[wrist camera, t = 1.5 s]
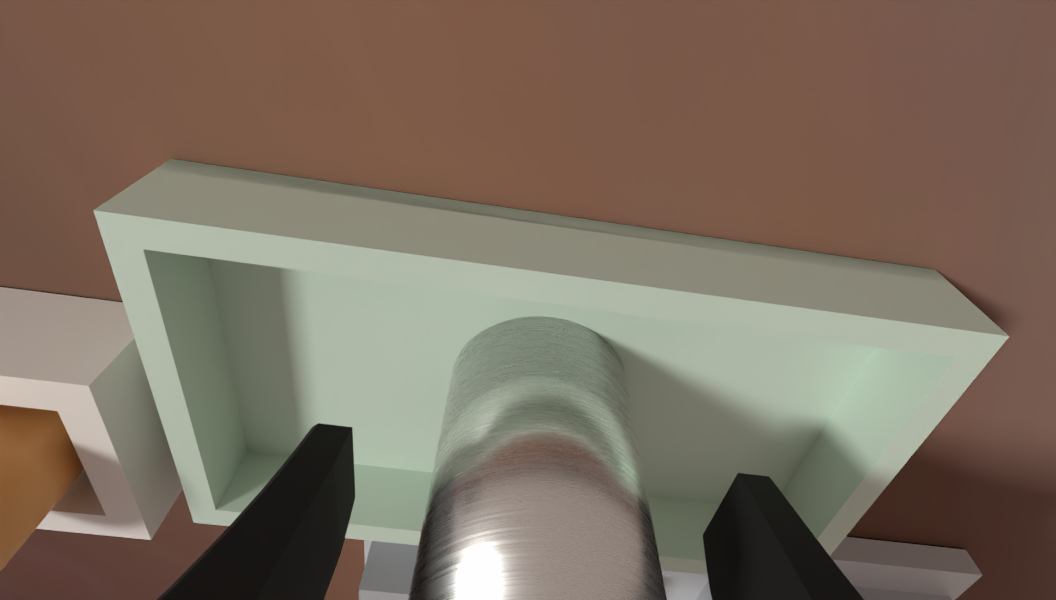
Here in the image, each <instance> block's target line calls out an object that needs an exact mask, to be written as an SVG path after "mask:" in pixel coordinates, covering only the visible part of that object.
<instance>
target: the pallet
mask: <svg viewBox="0 0 1056 600" xmlns="http://www.w3.org/2000/svg"><path fill="white" fill-rule="evenodd" d="M417 551H418V545H409V544H399V543H389V542H379V541H370V540H364V552H365V568H364V572H363V576H362V580H361V583H360V587H359V600H408V598H409V593H410V587H411V582H412V577H413V572H414V567H415V562H416V556H417ZM830 557H831V558H832V560H833V561H834V562H835V563H836V565H837V566H838V567H839V569H840V570H841V571H842V572H843V574H844V575H845V576H846V578H847V579H848V580H849V581H850V583H851V584H852V585H853V586H854V588H855V589H856V590H857V591H858V593H859V594H860V595H861V596H862V598H863V599H864V600H955V599H956V598H958V597H959V596H960V595H961V594H962V593H963V592H964V591H966V590H967V589H968V588H969V587H970V586H971V585H972V584H973V583H975V582H976V581H977V580H978V579H979V578H980V577H981V576H983V575H982V573H981V572H980V570H979V569H978V567H977V566H976V564H975V563H974V561H973V560H972V558H971V557H970V555H969V554H968V552H967V551H966V550H963V549H954V548H945V547H936V546H927V545H917V544H908V543H899V542H890V541H881V540H871V539H862V538H853V537H845V538H844V539H843V541H842V542H841V543H840V544H839V545H838V547H837V548H836V549H835V550H834V552H833V553H832V554H831V555H830ZM661 571H662V576H663V582H664V587H665V593H666V598H667V600H712V597H711V593H710V587H709V580H708V575H703V574H693V573H683V572H673V571H663V570H661Z"/></svg>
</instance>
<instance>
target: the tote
mask: <svg viewBox="0 0 1056 600" xmlns="http://www.w3.org/2000/svg"><path fill="white" fill-rule="evenodd" d="M94 214H95V217H96V220H97V223H98V226H99V229H100V232H101V235H102V238H103V242H104V245H105V248H106V251H107V254H108V257H109V260H110V263H111V266H112V270H113V273H114V276H115V279H116V282H117V285H118V288H119V291H120V294H121V298H122V301H123V304H124V307H125V310H126V313H127V316H128V319H129V322H130V326H131V329H132V332H133V335H134V338H135V341H136V344H137V347H138V350H139V354H140V357H141V360H142V363H143V366H144V369H145V372H146V375H147V378H148V382H149V385H150V388H151V391H152V394H153V397H154V400H155V403H156V406H157V410H158V413H159V416H160V419H161V422H162V425H163V428H164V431H165V434H166V438H167V441H168V444H169V447H170V450H171V453H172V456H173V459H174V462H175V466H176V469H177V472H178V475H179V478H180V481H181V484H182V487H183V490H184V494H185V497H186V500H187V503H188V506H189V509H190V512H191V515H192V518H193V522H194V523H203V524H213V525H223V526H230V525H231V524H232V523H233V521H234V520H235V519H236V518H237V517H238V516H239V515H240V514H241V513H242V511H243V510H244V509H245V508H246V507H247V506H248V505H249V504H250V502H251V501H252V500H253V499H254V498H255V497H256V496H257V495H258V493H259V492H260V491H261V490H262V489H263V488H264V487H265V485H266V484H267V483H268V482H269V481H270V479H271V478H272V477H273V476H274V475H275V473H276V472H277V471H278V470H279V469H280V467H281V466H282V465H283V464H284V463H285V461H286V460H287V459H288V458H289V456H290V455H291V454H292V453H293V451H294V450H295V449H296V448H297V446H298V445H299V444H300V442H301V441H302V440H303V439H304V437H305V436H306V435H307V433H308V432H309V431H310V429H311V428H312V427H313V426H314V425H316V424H318V423H321V424H329V425H337V426H346V427H352V431H353V454H354V476H355V501H354V505H353V508H352V512H351V516H350V520H349V524H348V528H347V532H346V535H345V538H350V539H360V540H370V541H379V542H389V543H399V544H409V545H418V546H419V541H420V536H421V530H422V525H423V520H424V515H425V510H426V505H427V499H428V494H429V489H430V484H431V479H432V473H433V468H434V463H435V458H436V453H437V448H438V442H439V437H440V432H441V427H442V422H443V416H444V411H445V406H446V401H447V396H448V391H449V385H450V380H451V375H452V370H453V366H454V363H455V361H456V358H457V357H458V355H459V353H460V351H461V350H462V349H463V348H464V346H465V345H466V344H467V343H468V342H469V341H470V340H471V339H472V338H473V337H475V336H476V335H477V334H479V333H480V332H482V331H483V330H485V329H487V328H489V327H491V326H493V325H495V324H498V323H501V322H504V321H507V320H511V319H515V318H522V317H533V316H544V317H555V318H560V319H565V320H569V321H572V322H575V323H578V324H580V325H583V326H585V327H587V328H589V329H591V330H593V331H594V332H596V333H598V334H599V335H600V336H601V337H603V338H604V339H605V340H606V341H607V342H608V343H609V344H610V345H611V346H612V347H613V348H614V350H615V351H616V352H617V354H618V355H619V357H620V359H621V361H622V363H623V367H624V370H625V375H626V380H627V386H628V391H629V397H630V402H631V407H632V413H633V418H634V424H635V429H636V435H637V440H638V446H639V451H640V457H641V462H642V467H643V473H644V478H645V484H646V489H647V495H648V500H649V506H650V511H651V516H652V522H653V527H654V533H655V538H656V544H657V549H658V555H659V560H660V566H661V570H663V571H673V572H683V573H693V574H703V575H708V574H707V567H706V559H705V551H704V543H703V533H704V532H705V530H706V528H707V526H708V525H709V523H710V521H711V519H712V518H713V516H714V514H715V512H716V511H717V509H718V507H719V505H720V504H721V502H722V500H723V498H724V497H725V495H726V493H727V491H728V490H729V488H730V486H731V484H732V482H733V481H734V479H735V477H736V475H737V474H738V473H744V474H752V475H761V476H769V477H770V478H771V479H772V481H773V482H774V483H775V485H776V486H777V487H778V488H779V490H780V491H781V492H782V494H783V495H784V496H785V498H786V499H787V500H788V502H789V503H790V504H791V506H792V507H793V508H794V510H795V511H796V512H797V514H798V515H799V516H800V518H801V519H802V520H803V522H804V523H805V524H806V526H807V527H808V528H809V529H810V531H811V532H812V533H813V535H814V536H815V537H816V539H817V540H818V541H819V543H820V544H821V545H822V547H823V548H824V549H825V551H826V552H827V553H828V554H829V556H830V555H831V554H832V553H833V552H834V550H835V549H836V548H837V547H838V545H839V544H840V543H841V542H842V541H843V539H844V538H845V537H846V536H847V534H848V533H849V532H850V531H851V530H852V528H853V527H854V526H855V525H856V523H857V522H858V521H859V520H860V519H861V517H862V516H863V515H864V514H865V512H866V511H867V510H868V509H869V508H870V506H871V505H872V504H873V503H874V501H875V500H876V499H877V498H878V497H879V495H880V494H881V493H882V492H883V490H884V489H885V488H886V487H887V486H888V484H889V483H890V482H891V481H892V479H893V478H894V477H895V476H896V475H897V473H898V472H899V471H900V470H901V468H902V467H903V466H904V465H905V463H906V462H907V461H908V460H909V459H910V457H911V456H912V455H913V454H914V452H915V451H916V450H917V449H918V448H919V446H920V445H921V444H922V443H923V441H924V440H925V439H926V438H927V437H928V435H929V434H930V433H931V432H932V430H933V429H934V428H935V427H936V426H937V424H938V423H939V422H940V421H941V419H942V418H943V417H944V416H945V415H946V413H947V412H948V411H949V410H950V408H951V407H952V406H953V405H954V404H955V402H956V401H957V400H958V399H959V397H960V396H961V395H962V394H963V393H964V391H965V390H966V389H967V388H968V386H969V385H970V384H971V383H972V382H973V380H974V379H975V378H976V377H977V375H978V374H979V373H980V372H981V370H982V369H983V368H984V367H985V366H986V364H987V363H988V362H989V361H990V359H991V358H992V357H993V356H994V355H995V353H996V352H997V351H998V350H999V348H1000V347H1001V346H1002V345H1003V344H1004V342H1005V341H1006V340H1007V339H1008V337H1009V336H1008V335H1007V334H1006V333H1005V332H1004V331H1003V330H1002V329H1001V328H999V327H998V326H997V325H996V324H995V323H994V322H993V321H992V320H991V319H989V318H988V317H987V316H986V315H985V314H984V313H983V312H982V311H981V310H980V309H978V308H977V307H976V306H975V305H974V304H973V303H972V302H971V301H970V300H968V299H967V298H966V297H965V296H964V295H963V294H962V293H961V292H960V291H959V290H957V289H956V288H955V287H954V286H953V285H952V284H951V283H950V282H949V281H947V280H946V279H945V278H944V277H943V276H942V275H941V274H940V273H939V272H938V271H936V270H934V269H927V268H920V267H913V266H906V265H899V264H892V263H886V262H879V261H872V260H865V259H858V258H851V257H844V256H837V255H830V254H823V253H817V252H810V251H803V250H796V249H789V248H782V247H775V246H768V245H761V244H755V243H748V242H741V241H734V240H727V239H720V238H713V237H706V236H699V235H693V234H686V233H679V232H672V231H665V230H658V229H651V228H644V227H637V226H631V225H624V224H617V223H610V222H603V221H596V220H589V219H582V218H575V217H568V216H562V215H555V214H548V213H541V212H534V211H527V210H520V209H513V208H506V207H500V206H493V205H486V204H479V203H472V202H465V201H458V200H451V199H444V198H438V197H431V196H424V195H417V194H410V193H403V192H396V191H389V190H382V189H376V188H369V187H362V186H355V185H348V184H341V183H334V182H327V181H320V180H313V179H307V178H300V177H293V176H286V175H279V174H272V173H265V172H258V171H251V170H245V169H238V168H231V167H224V166H217V165H210V164H203V163H196V162H189V161H183V160H176V159H170V160H168V161H167V162H165V163H164V164H162V165H161V166H159V167H158V168H156V169H155V170H153V171H152V172H150V173H149V174H147V175H146V176H144V177H143V178H141V179H140V180H138V181H137V182H135V183H134V184H132V185H131V186H129V187H128V188H126V189H125V190H123V191H122V192H120V193H119V194H117V195H116V196H114V197H113V198H111V199H110V200H108V201H107V202H105V203H104V204H102V205H101V206H99V207H98V208H96V209H95V210H94Z"/></svg>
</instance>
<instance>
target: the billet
mask: <svg viewBox="0 0 1056 600" xmlns="http://www.w3.org/2000/svg"><path fill="white" fill-rule="evenodd" d="M408 600H667V598H666V593H665V587H664V582H663V576H662V571H661V566H660V560H659V555H658V549H657V544H656V538H655V533H654V527H653V522H652V516H651V511H650V506H649V500H648V495H647V489H646V484H645V478H644V473H643V467H642V462H641V457H640V451H639V446H638V440H637V435H636V429H635V424H634V418H633V413H632V407H631V402H630V397H629V391H628V386H627V380H626V375H625V370H624V367H623V363H622V361H621V359H620V357H619V355H618V354H617V352H616V351H615V350H614V348H613V347H612V346H611V345H610V344H609V343H608V342H607V341H606V340H605V339H604V338H603V337H601V336H600V335H599V334H598V333H596V332H594V331H593V330H591V329H589V328H587V327H585V326H583V325H580V324H578V323H575V322H572V321H569V320H565V319H560V318H555V317H544V316H533V317H522V318H515V319H511V320H507V321H504V322H501V323H498V324H495V325H493V326H491V327H489V328H487V329H485V330H483V331H482V332H480V333H479V334H477V335H476V336H475V337H473V338H472V339H471V340H470V341H469V342H468V343H467V344H466V345H465V346H464V348H463V349H462V350H461V351H460V353H459V355H458V357H457V358H456V361H455V363H454V366H453V370H452V375H451V380H450V385H449V391H448V396H447V401H446V406H445V411H444V416H443V422H442V427H441V432H440V437H439V442H438V448H437V453H436V458H435V463H434V468H433V473H432V479H431V484H430V489H429V494H428V499H427V505H426V510H425V515H424V520H423V525H422V530H421V536H420V541H419V546H418V551H417V556H416V562H415V567H414V572H413V577H412V582H411V587H410V593H409V598H408Z"/></svg>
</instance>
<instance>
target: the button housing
mask: <svg viewBox="0 0 1056 600" xmlns="http://www.w3.org/2000/svg"><path fill="white" fill-rule="evenodd" d="M0 405H8V406H17V407H26V408H35V409H44V410H52V411H58V413H59V416H60V418H61V420H62V422H63V424H64V426H65V428H66V431H67V433H68V435H69V437H70V439H71V441H72V443H73V446H74V448H75V450H76V452H77V454H78V456H79V458H80V461H81V463H82V465H83V467H84V470H83V472H82V473H81V474H80V475H79V477H78V478H77V479H76V480H75V481H74V483H73V484H72V485H71V486H70V488H69V489H68V490H67V491H66V492H65V494H64V495H63V496H62V497H61V498H60V500H59V501H58V502H57V503H56V505H55V506H54V507H53V508H52V509H51V511H50V512H49V513H48V514H47V516H46V517H45V518H44V519H43V520H42V522H41V523H40V524H39V525H38V527H37V528H36V529H46V530H56V531H66V532H76V533H86V534H96V535H107V536H117V537H127V538H137V539H147V540H151V539H152V538H153V536H154V535H155V533H156V531H157V530H158V528H159V527H160V525H161V523H162V522H163V520H164V519H165V517H166V515H167V514H168V512H169V510H170V509H171V507H172V506H173V504H174V502H175V501H176V499H177V498H178V496H179V494H180V493H181V491H182V490H183V487H182V484H181V481H180V478H179V475H178V472H177V469H176V466H175V462H174V459H173V456H172V453H171V450H170V447H169V444H168V441H167V438H166V434H165V431H164V428H163V425H162V422H161V419H160V416H159V413H158V410H157V406H156V403H155V400H154V397H153V394H152V391H151V388H150V385H149V382H148V378H147V375H146V372H145V369H144V366H143V363H142V360H141V357H140V354H139V350H138V347H137V344H136V341H135V338H134V335H133V332H132V329H131V326H130V322H129V319H128V316H127V313H126V310H125V307H124V304H123V302H115V301H107V300H100V299H92V298H84V297H76V296H68V295H60V294H52V293H45V292H37V291H29V290H21V289H13V288H5V287H0Z"/></svg>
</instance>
